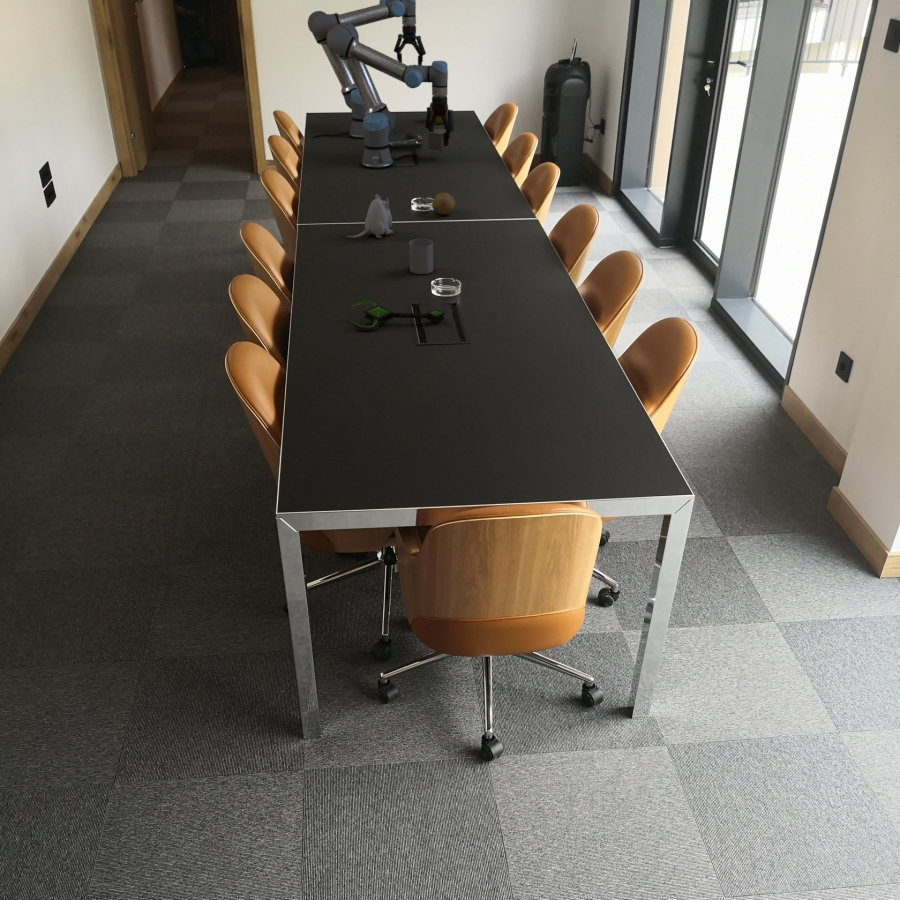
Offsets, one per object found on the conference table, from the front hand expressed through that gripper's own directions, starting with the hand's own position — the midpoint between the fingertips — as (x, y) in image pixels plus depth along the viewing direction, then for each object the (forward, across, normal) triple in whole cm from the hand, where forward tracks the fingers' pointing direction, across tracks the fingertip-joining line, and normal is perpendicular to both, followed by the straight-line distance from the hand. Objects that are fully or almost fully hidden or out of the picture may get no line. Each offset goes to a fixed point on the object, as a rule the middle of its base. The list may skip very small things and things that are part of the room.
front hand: (439, 144), depth 431 cm
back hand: (-24, -54, +55) cm, 80 cm away
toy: (+8, +39, -114) cm, 121 cm away
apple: (+8, -45, +71) cm, 84 cm away
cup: (+8, +75, -132) cm, 152 cm away
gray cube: (+2, 0, 0) cm, 2 cm away
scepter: (+8, +93, -174) cm, 197 cm away
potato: (+8, +48, -72) cm, 87 cm away
